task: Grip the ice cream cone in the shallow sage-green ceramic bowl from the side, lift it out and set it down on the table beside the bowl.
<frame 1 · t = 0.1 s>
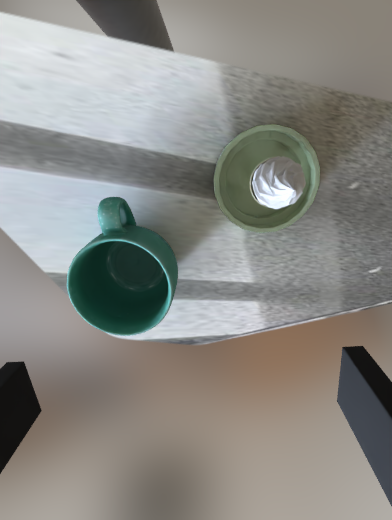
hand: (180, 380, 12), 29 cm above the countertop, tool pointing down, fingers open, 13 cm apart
bowl: (260, 179, 37), on the countertop
ice cream cone: (261, 177, 37), resting on bowl
mug: (137, 248, 42), on the countertop
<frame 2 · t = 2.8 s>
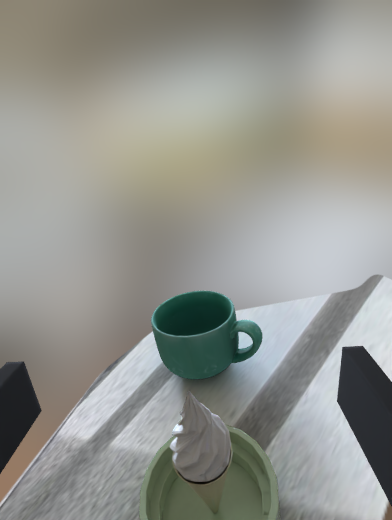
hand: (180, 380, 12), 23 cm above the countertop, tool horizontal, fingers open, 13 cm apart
bowl: (213, 511, 27), on the countertop
ice cream cone: (215, 511, 27), resting on bowl
mug: (212, 365, 45), on the countertop
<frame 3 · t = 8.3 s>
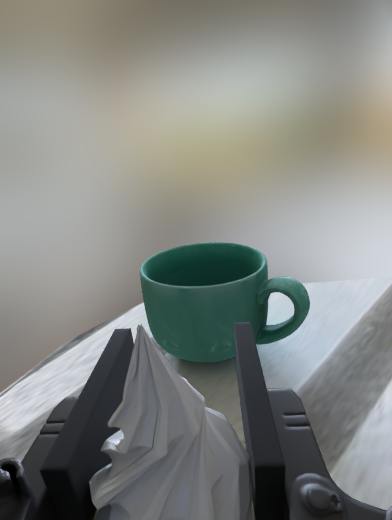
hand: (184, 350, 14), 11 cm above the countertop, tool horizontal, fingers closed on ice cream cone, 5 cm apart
mug: (223, 347, 31), on the countertop
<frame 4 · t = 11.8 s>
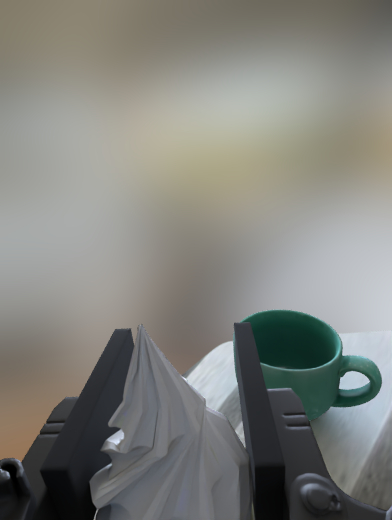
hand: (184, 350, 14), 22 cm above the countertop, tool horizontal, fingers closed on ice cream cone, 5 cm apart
mug: (298, 403, 37), on the countertop
when the fingers open (10 cm above the countertop, at t = 15.7 s): ice cream cone moves 2 cm, point 1 cm above the countertop.
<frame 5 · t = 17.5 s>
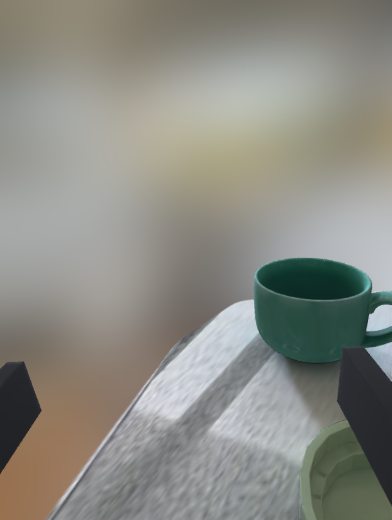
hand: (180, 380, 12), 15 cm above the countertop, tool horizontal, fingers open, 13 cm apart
mug: (321, 350, 35), on the countertop
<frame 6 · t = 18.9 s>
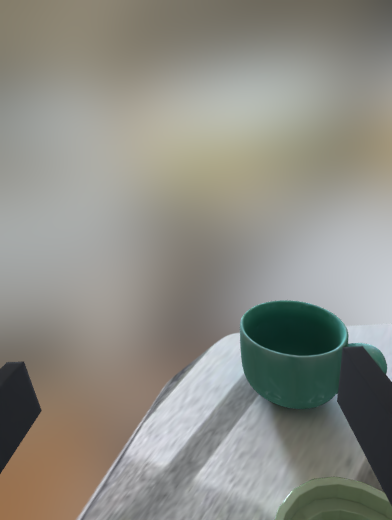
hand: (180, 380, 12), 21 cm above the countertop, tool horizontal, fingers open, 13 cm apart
mug: (303, 391, 38), on the countertop
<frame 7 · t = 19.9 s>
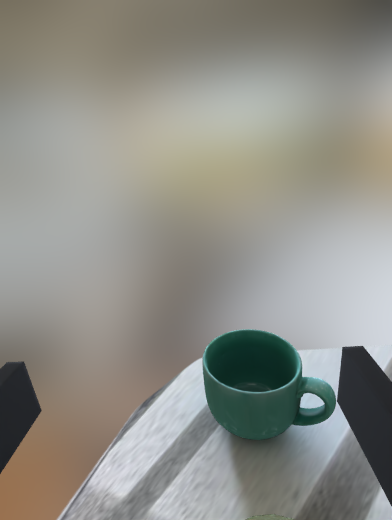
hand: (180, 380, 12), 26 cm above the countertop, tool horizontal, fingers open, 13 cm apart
mug: (264, 419, 39), on the countertop
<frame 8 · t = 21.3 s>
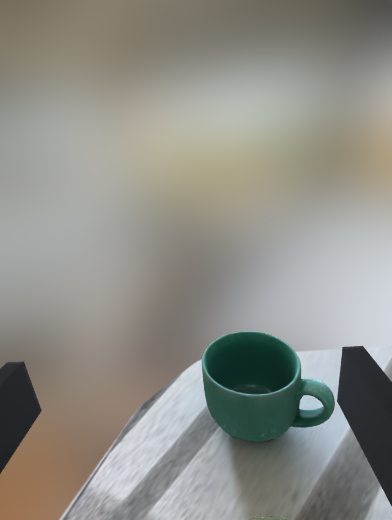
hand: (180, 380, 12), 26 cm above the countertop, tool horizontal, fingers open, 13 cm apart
mug: (264, 421, 39), on the countertop
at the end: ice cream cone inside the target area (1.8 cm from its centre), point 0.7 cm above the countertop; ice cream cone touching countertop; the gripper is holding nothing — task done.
